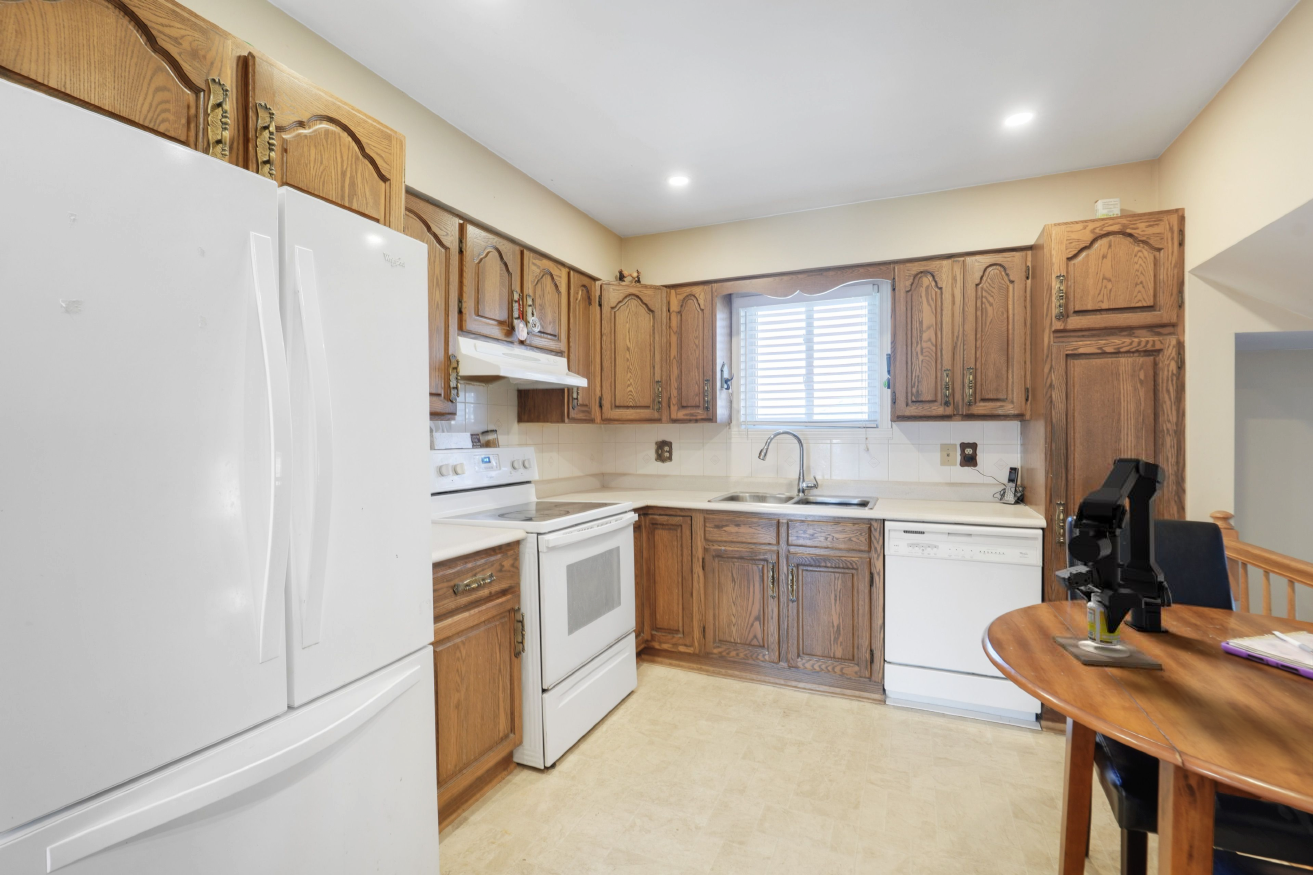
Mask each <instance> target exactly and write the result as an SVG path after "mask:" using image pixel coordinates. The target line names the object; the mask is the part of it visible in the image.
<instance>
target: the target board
mask: <svg viewBox="0 0 1313 875" xmlns="http://www.w3.org/2000/svg"><path fill="white" fill-rule="evenodd" d="M1052 641H1053V642H1054V641H1055V642H1056V643H1055V642H1054V643H1055V644H1057V645H1058V646H1059V645H1060V646H1061V649H1063V648H1064V649H1065V650H1066V651H1065V650H1064V649H1063V650H1064V651H1065V652H1067V653H1068V654H1069V655H1070V654H1071V655H1070V656H1072V657H1073V658H1074V659H1075V658H1076V661H1078V662H1079V661H1080V662H1081V663H1080V662H1079V663H1080V664H1082V665H1088V664H1094V665H1093V666H1104V665H1111V666H1110V667H1120V666H1122V667H1121V668H1123V667H1124V668H1134V669H1135V668H1136V667H1137V669H1138V668H1139V669H1152V670H1153V669H1154V670H1162V669H1163V664H1162V663H1161V662H1160V661H1158V660H1156V659H1154V658H1153V657H1151V656H1150V655H1148V654H1146V653H1145V652H1143V651H1141V649H1139V648H1137V647H1136V646H1134V645H1132V644H1130V642H1127V641H1125V640H1124V639H1120V644H1119V645H1118V646H1103V645H1098V644H1095V643H1093V642H1091V641H1090V640H1089V639H1088V637H1083V636H1063V635H1062V636H1061V635H1052Z"/></svg>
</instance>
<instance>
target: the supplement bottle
mask: <svg viewBox="0 0 1313 875" xmlns="http://www.w3.org/2000/svg"><path fill="white" fill-rule="evenodd" d="M1091 599H1092V600H1091V602H1089V603H1088V604H1087V603H1086V612H1087V614H1086V616H1087V618H1086V620H1087V622H1086V624H1087V638H1088V639H1089V640H1090V641H1091V642H1093V643H1095V644H1098V645H1103V646H1118V645H1119V644H1120V640H1121V624H1120V625H1119V627H1118V629H1117V630H1116V632H1115V633H1114V634H1111V633H1108V632H1107V627H1106V622H1105V615H1104V609H1103V607H1102V606H1100V605H1099V604H1098V603H1097V602H1096V600H1099V601H1101V599H1100V593H1092V598H1091Z"/></svg>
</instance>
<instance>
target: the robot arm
mask: <svg viewBox="0 0 1313 875" xmlns="http://www.w3.org/2000/svg"><path fill="white" fill-rule="evenodd" d="M1112 463H1113V464H1112V466H1113V467H1112V468H1111V470H1110V471H1109V474H1107V476H1106V478H1105V479H1104V481H1103V483H1102V484H1101V486H1100V487H1099V488H1098V489H1097V490H1093V491H1090V492H1088V494H1086V495H1085V496H1084V498H1083V499H1082V500H1081V501H1080V502H1079V504H1078V507H1077V511H1076V515H1075V519H1074V521H1073V522H1074V523H1073V529H1074V530H1078V535H1075V536H1073V537H1071V538H1070V540H1069V542H1068V543H1067V550H1068V553H1069V554H1070V556H1071V557H1072V558H1073V559H1074V560H1075V561H1077V562H1080V565H1076V566H1071V567H1068V568H1064V569H1061V570H1058V571H1057V570H1056V571H1055V572H1054V574H1055V577H1056V579H1057V582H1058V584H1059V587H1060V588H1063V589H1065V591H1068V592H1073V591H1076V592H1078V594H1080V595H1081V596H1082V597H1083V598H1084V601H1085V604H1086V605H1087V604H1088V603H1089V602H1091V600H1092V599H1091V598H1092V593H1100V599H1101V601H1099V600H1096V602H1097V603H1098V604H1099V605H1100V606H1102V607H1103V609H1104V615H1105V622H1106V627H1107V632H1108V633H1111V634H1114V633H1115V632H1116V630H1117V629H1118V627H1119V625H1120V626H1121V624H1122V622H1123V623H1124V624H1126V625H1127V626H1129V627H1130V628H1133V629H1134V630H1136V631H1138V632H1140V631H1141V632H1153V633H1154V632H1157V633H1169V632H1170V630H1169V629H1168V628H1165V627H1164V626H1162V608H1172V607H1173V601H1172V594H1171V591H1170V588H1169V586H1168V584H1167V582H1166V581H1165V573H1164V572H1163V570H1162V568H1160V566H1159V564H1158V563H1157V562H1156V561H1155V560H1156V559H1155V506H1154V505H1155V499H1156V498H1157V497H1158V496H1159V494H1160V493H1161V492H1162V491H1163V485H1164V484H1165V482H1166V478H1167V477H1166V471H1165V468H1163V467H1162V466H1161V465H1159V464H1158V463H1153V462H1149V461H1146V460H1144V459H1142V458H1138V457H1118V458H1114V460H1113V462H1112ZM1125 500H1128V508H1127V505H1126V503H1125ZM1128 518H1129V519H1128ZM1127 520H1129V521H1128V522H1129V523H1128V524H1129V526H1128V527H1129V529H1128V530H1129V531H1128V532H1129V534H1128V535H1129V536H1128V538H1129V561H1128V562H1127V563H1126V564H1125V563H1124V562H1121V555H1120V554H1121V553H1120V552H1121V549H1120V545H1121V544H1120V542H1121V540H1120V536H1121V535H1120V532H1121V531H1122V530H1124V528H1125V526H1126V523H1127ZM1129 613H1130V615H1129V616H1130V620H1125V618H1126V617H1127V616H1128V614H1129Z"/></svg>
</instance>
